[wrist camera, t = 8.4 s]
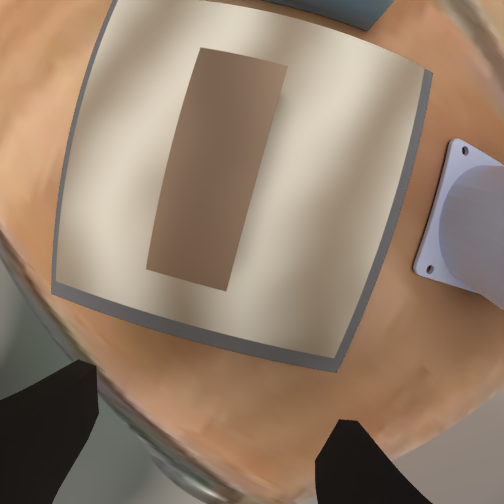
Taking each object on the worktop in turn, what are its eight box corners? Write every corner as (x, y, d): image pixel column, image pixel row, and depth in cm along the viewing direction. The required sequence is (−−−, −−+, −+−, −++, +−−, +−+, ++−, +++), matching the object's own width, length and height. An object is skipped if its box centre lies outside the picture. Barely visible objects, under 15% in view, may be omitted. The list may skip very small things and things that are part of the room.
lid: (416, 71, 13) (466, 46, 9) (330, 348, 18) (350, 405, 13) (126, 3, 13) (87, -38, 8) (64, 275, 17) (14, 309, 12)
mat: (428, 74, 14) (433, 72, 13) (335, 368, 18) (336, 372, 18) (117, 0, 13) (114, -3, 13) (55, 290, 18) (51, 293, 17)
